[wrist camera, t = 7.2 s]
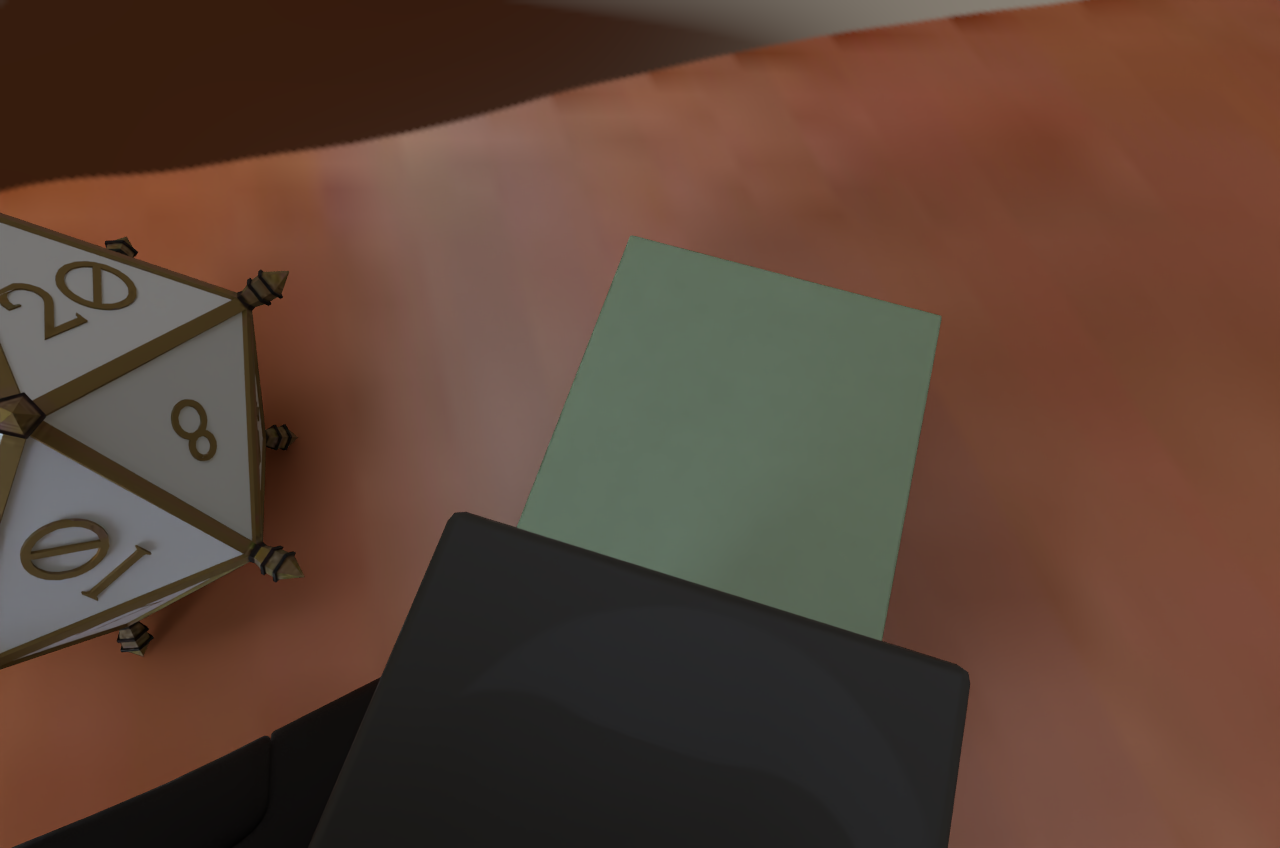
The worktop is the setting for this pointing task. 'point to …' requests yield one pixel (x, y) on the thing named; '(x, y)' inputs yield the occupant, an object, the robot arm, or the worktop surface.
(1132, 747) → the worktop surface
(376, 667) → the worktop surface
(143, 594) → the game die
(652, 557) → the two-tone post fixture
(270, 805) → the robot arm
